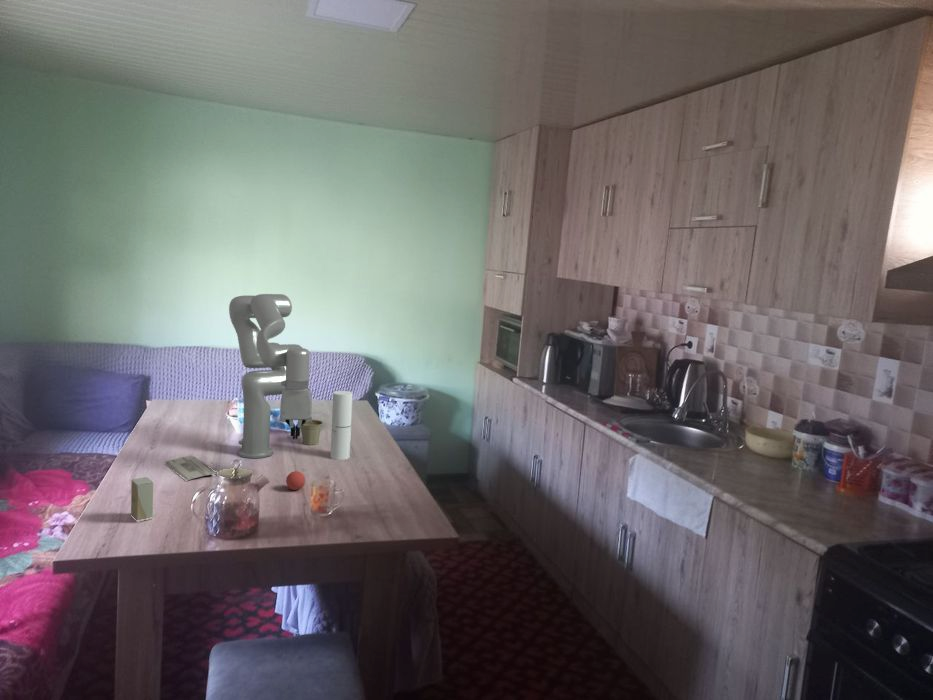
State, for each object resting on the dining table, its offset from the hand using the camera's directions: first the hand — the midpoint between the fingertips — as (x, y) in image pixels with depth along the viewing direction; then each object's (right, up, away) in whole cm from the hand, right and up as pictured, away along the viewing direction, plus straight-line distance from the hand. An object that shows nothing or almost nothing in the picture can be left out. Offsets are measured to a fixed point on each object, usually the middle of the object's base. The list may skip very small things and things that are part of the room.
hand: (295, 438), depth 221 cm
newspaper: (-36, -12, +4) cm, 39 cm away
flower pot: (-5, -8, +43) cm, 44 cm away
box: (-33, -18, -38) cm, 53 cm away
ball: (+3, -13, -9) cm, 15 cm away
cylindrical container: (+10, -11, +28) cm, 32 cm away
